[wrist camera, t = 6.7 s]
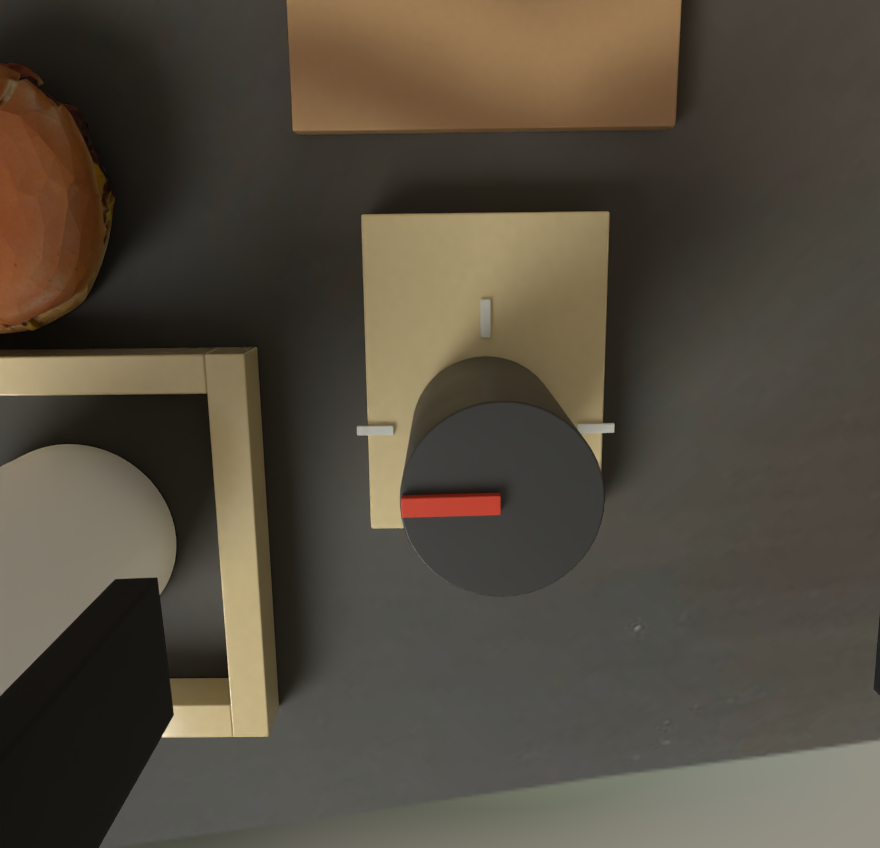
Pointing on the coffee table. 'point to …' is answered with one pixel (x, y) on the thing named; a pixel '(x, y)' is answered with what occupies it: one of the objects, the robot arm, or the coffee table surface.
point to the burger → (47, 204)
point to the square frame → (237, 507)
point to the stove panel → (479, 318)
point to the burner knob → (498, 481)
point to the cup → (71, 542)
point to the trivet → (482, 65)
